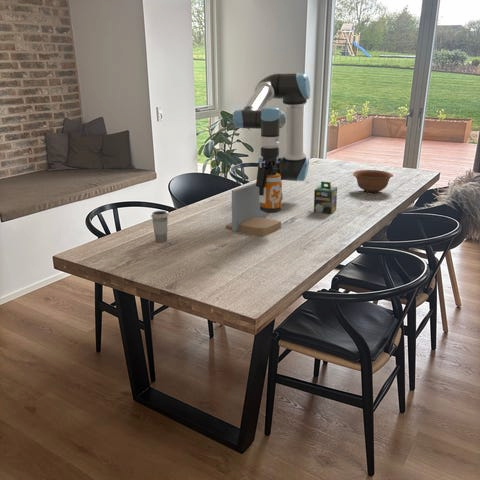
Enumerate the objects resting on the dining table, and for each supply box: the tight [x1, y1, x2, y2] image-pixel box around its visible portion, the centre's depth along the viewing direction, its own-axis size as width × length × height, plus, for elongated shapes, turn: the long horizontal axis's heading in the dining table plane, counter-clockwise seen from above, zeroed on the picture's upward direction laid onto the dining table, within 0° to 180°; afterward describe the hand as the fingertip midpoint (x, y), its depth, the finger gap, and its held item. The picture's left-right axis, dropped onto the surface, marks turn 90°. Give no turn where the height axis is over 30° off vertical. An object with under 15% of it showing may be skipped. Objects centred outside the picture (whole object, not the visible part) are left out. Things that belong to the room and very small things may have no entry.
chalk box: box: [313, 181, 338, 215], centre depth 239 cm, size 9×9×15 cm
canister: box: [260, 165, 283, 214], centre depth 206 cm, size 9×11×20 cm
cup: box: [150, 210, 169, 243], centre depth 199 cm, size 7×7×12 cm
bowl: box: [352, 169, 394, 195], centre depth 275 cm, size 22×22×11 cm
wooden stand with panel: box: [225, 182, 282, 237], centre depth 216 cm, size 20×24×18 cm
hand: (268, 200), depth 207 cm, fingers closed on canister, 9 cm apart
